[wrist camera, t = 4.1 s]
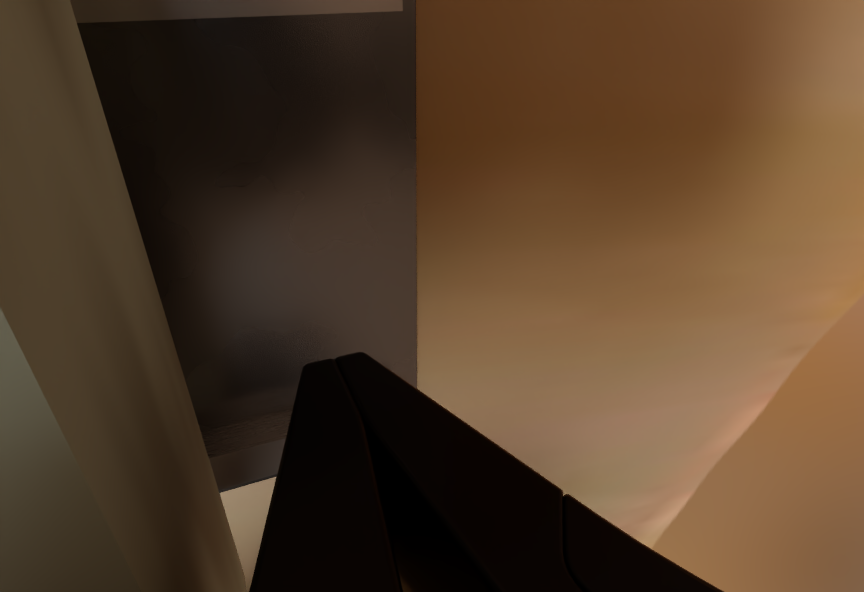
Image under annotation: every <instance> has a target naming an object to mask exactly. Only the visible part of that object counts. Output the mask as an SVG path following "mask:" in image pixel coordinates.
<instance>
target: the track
mask: <svg viewBox="0 0 864 592" xmlns="http://www.w3.org/2000/svg"><path fill="white" fill-rule="evenodd" d="M70 3H71V6H72V9H73V13H74V16H75V19H76V22H77V26H78V29H79V32H80V36H81V39H82V42H83V45H84V49H85V52H86V55H87V59H88V62H89V65H90V69H91V72H92V75H93V78H94V82H95V85H96V88H97V92H98V95H99V98H100V101H101V105H102V108H103V111H104V115H105V118H106V121H107V125H108V128H109V131H110V134H111V138H112V141H113V144H114V148H115V151H116V154H117V158H118V161H119V164H120V167H121V171H122V174H123V177H124V181H125V184H126V187H127V190H128V194H129V197H130V200H131V204H132V207H133V210H134V214H135V217H136V220H137V223H138V227H139V230H140V233H141V237H142V240H143V243H144V246H145V250H146V253H147V256H148V260H149V263H150V266H151V270H152V273H153V276H154V279H155V283H156V286H157V289H158V293H159V296H160V299H161V303H162V306H163V309H164V312H165V316H166V319H167V322H168V326H169V329H170V332H171V335H172V339H173V342H174V345H175V349H176V352H177V355H178V359H179V362H180V365H181V368H182V372H183V375H184V378H185V382H186V385H187V388H188V391H189V395H190V398H191V401H192V405H193V408H194V411H195V415H196V418H197V421H198V424H199V428H200V431H201V434H202V438H203V441H204V444H205V448H206V451H207V454H208V457H209V461H210V464H211V467H212V471H213V474H214V477H215V480H216V484H217V487H218V490H219V493H221V492H224V491H228V490H231V489H235V488H238V487H241V486H245V485H248V484H252V483H255V482H259V481H262V480H266V479H269V478H273V477H276V476H277V473H278V469H279V465H280V460H281V456H282V452H283V448H284V443H285V439H286V435H287V431H288V427H289V422H290V418H291V414H292V410H293V405H294V401H295V397H296V393H297V389H298V384H299V380H300V376H301V372H302V368H303V366H304V365H305V364H307V363H310V362H315V361H319V360H324V359H328V358H332V359H334V358H335V357H338V356H342V355H347V354H351V353H356V352H364V353H366V354H368V355H369V356H371V357H372V358H373V359H375V360H376V361H378V362H379V363H381V364H382V365H383V366H385V367H386V368H388V369H389V370H391V371H392V372H394V373H395V374H396V375H398V376H399V377H401V378H402V379H404V380H405V381H406V382H408V383H409V384H411V385H412V386H414V387H415V388H416V389H417V282H416V0H70Z"/></svg>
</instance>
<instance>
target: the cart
mask: <svg viewBox="0 0 864 592" xmlns="http://www.w3.org/2000/svg"><path fill="white" fill-rule="evenodd" d="M0 592H246V584H245V576H244V573H243V569H242V566H241V563H240V560H239V556H238V553H237V550H236V546H235V543H234V540H233V536H232V533H231V530H230V527H229V523H228V520H227V517H226V513H225V510H224V507H223V504H222V500H221V497H220V494H219V490H218V487H217V484H216V480H215V477H214V474H213V471H212V467H211V464H210V461H209V457H208V454H207V451H206V448H205V444H204V441H203V438H202V434H201V431H200V428H199V424H198V421H197V418H196V415H195V411H194V408H193V405H192V401H191V398H190V395H189V391H188V388H187V385H186V382H185V378H184V375H183V372H182V368H181V365H180V362H179V359H178V355H177V352H176V349H175V345H174V342H173V339H172V335H171V332H170V329H169V326H168V322H167V319H166V316H165V312H164V309H163V306H162V303H161V299H160V296H159V293H158V289H157V286H156V283H155V279H154V276H153V273H152V270H151V266H150V263H149V260H148V256H147V253H146V250H145V246H144V243H143V240H142V237H141V233H140V230H139V227H138V223H137V220H136V217H135V214H134V210H133V207H132V204H131V200H130V197H129V194H128V190H127V187H126V184H125V181H124V177H123V174H122V171H121V167H120V164H119V161H118V158H117V154H116V151H115V148H114V144H113V141H112V138H111V134H110V131H109V128H108V125H107V121H106V118H105V115H104V111H103V108H102V105H101V101H100V98H99V95H98V92H97V88H96V85H95V82H94V78H93V75H92V72H91V69H90V65H89V62H88V59H87V55H86V52H85V49H84V45H83V42H82V39H81V36H80V32H79V29H78V26H77V22H76V19H75V16H74V13H73V9H72V6H71V3H70V0H0Z"/></svg>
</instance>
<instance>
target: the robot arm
mask: <svg viewBox="0 0 864 592" xmlns="http://www.w3.org/2000/svg"><path fill="white" fill-rule="evenodd" d="M249 592H723V591H722V590H720V589H718V588H716V587H715V586H713V585H711V584H709V583H708V582H706V581H704V580H702V579H700V578H699V577H697V576H695V575H694V574H692V573H690V572H689V571H687V570H685V569H684V568H682V567H680V566H679V565H677V564H675V563H674V562H672V561H670V560H669V559H667V558H665V557H663V556H662V555H660V554H659V553H657V552H655V551H654V550H652V549H650V548H649V547H647V546H645V545H644V544H642V543H640V542H639V541H637V540H636V539H634V538H633V537H631V536H630V535H628V534H627V533H625V532H624V531H622V530H621V529H619V528H618V527H616V526H615V525H613V524H611V523H610V522H608V521H607V520H605V519H604V518H602V517H601V516H599V515H598V514H596V513H595V512H593V511H592V510H591V509H589V508H588V507H586V506H585V505H583V504H582V503H581V502H579V501H578V500H576V499H575V498H573V497H572V496H570V495H569V494H566V495H564V496H563V491H562V490H561V489H560V488H559V487H557V486H556V485H554V484H553V483H551V482H550V481H548V480H547V479H546V478H544V477H543V476H541V475H540V474H538V473H537V472H536V471H534V470H533V469H531V468H530V467H528V466H527V465H526V464H524V463H523V462H521V461H520V460H518V459H517V458H515V457H514V456H513V455H511V454H510V453H508V452H507V451H505V450H504V449H503V448H501V447H500V446H498V445H497V444H495V443H494V442H493V441H491V440H490V439H488V438H487V437H485V436H484V435H482V434H481V433H480V432H478V431H477V430H475V429H474V428H472V427H471V426H470V425H468V424H467V423H465V422H464V421H462V420H461V419H460V418H458V417H457V416H455V415H454V414H452V413H451V412H449V411H448V410H447V409H445V408H444V407H442V406H441V405H439V404H438V403H437V402H435V401H434V400H432V399H431V398H429V397H428V396H427V395H425V394H424V393H422V392H421V391H419V390H418V389H416V388H415V387H414V386H412V385H411V384H409V383H408V382H406V381H405V380H404V379H402V378H401V377H399V376H398V375H396V374H395V373H394V372H392V371H391V370H389V369H388V368H386V367H385V366H383V365H382V364H381V363H379V362H378V361H376V360H375V359H373V358H372V357H371V356H369V355H368V354H366V353H364V352H356V353H351V354H347V355H342V356H338V357H335V358H334V359H332V358H328V359H324V360H319V361H315V362H310V363H307V364H305V365H304V366H303V368H302V372H301V376H300V380H299V384H298V389H297V393H296V397H295V401H294V405H293V410H292V414H291V418H290V422H289V427H288V431H287V435H286V439H285V443H284V448H283V452H282V456H281V460H280V465H279V469H278V473H277V477H276V481H275V486H274V490H273V494H272V498H271V503H270V507H269V511H268V515H267V519H266V524H265V528H264V532H263V536H262V541H261V545H260V549H259V553H258V557H257V562H256V566H255V570H254V574H253V579H252V583H251V587H250V591H249Z"/></svg>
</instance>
